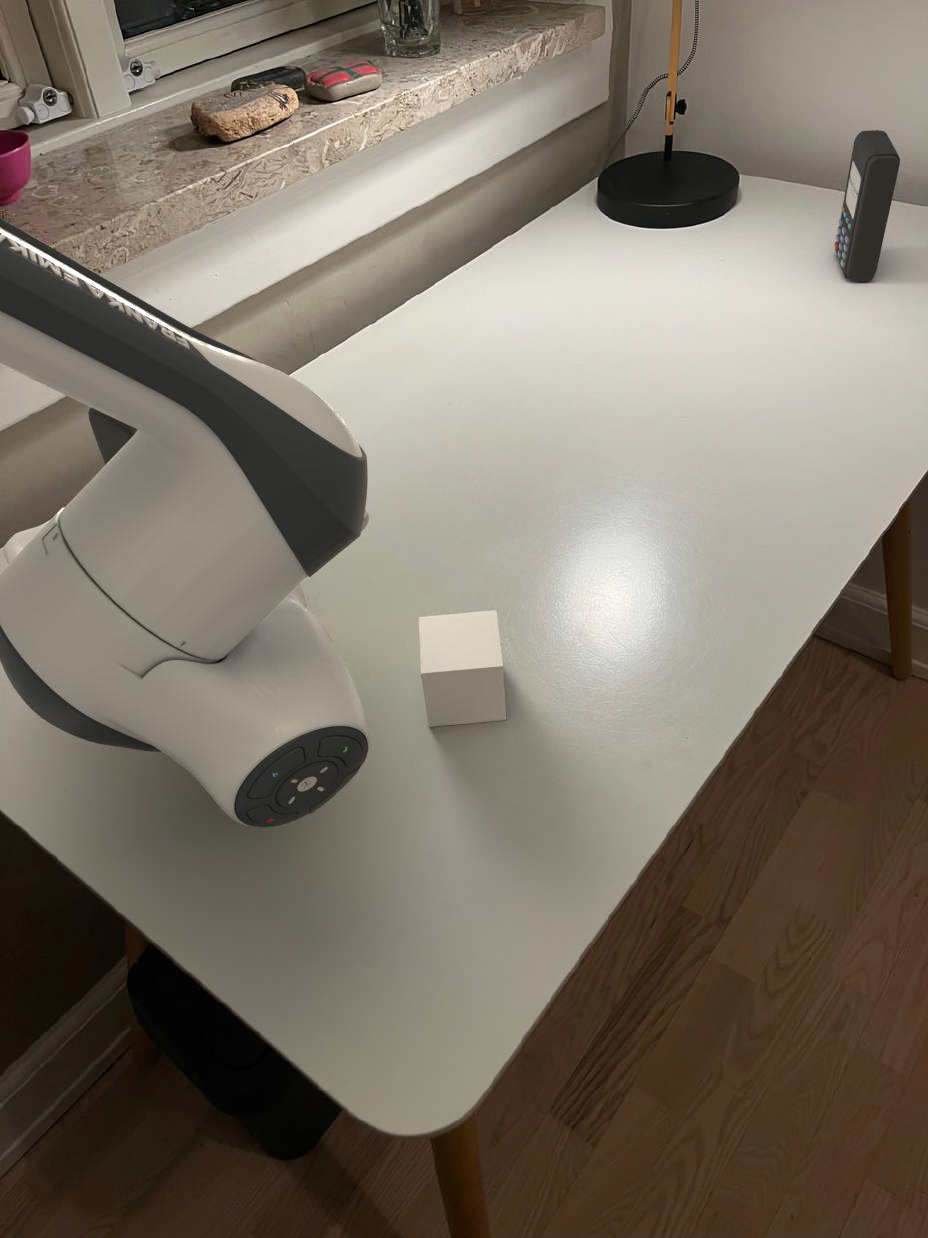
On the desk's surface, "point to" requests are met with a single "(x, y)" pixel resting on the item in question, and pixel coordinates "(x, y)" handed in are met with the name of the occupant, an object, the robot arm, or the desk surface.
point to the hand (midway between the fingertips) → (154, 468)
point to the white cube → (462, 668)
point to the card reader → (866, 204)
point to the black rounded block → (109, 433)
